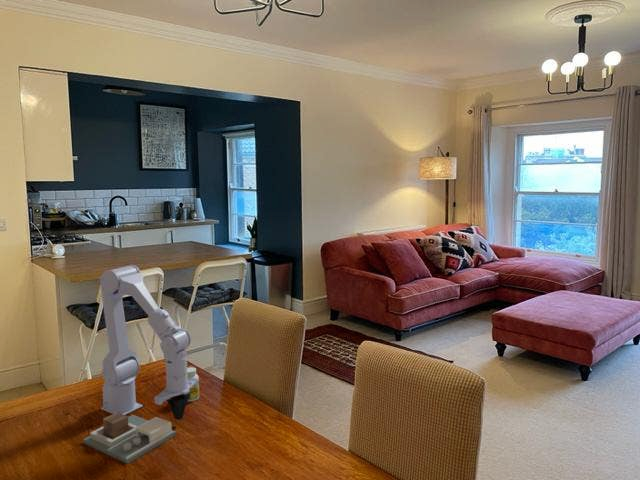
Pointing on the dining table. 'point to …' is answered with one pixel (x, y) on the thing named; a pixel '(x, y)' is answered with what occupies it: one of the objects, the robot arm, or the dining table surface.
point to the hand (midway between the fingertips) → (178, 418)
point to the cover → (154, 429)
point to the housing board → (125, 441)
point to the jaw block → (115, 425)
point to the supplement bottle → (194, 390)
